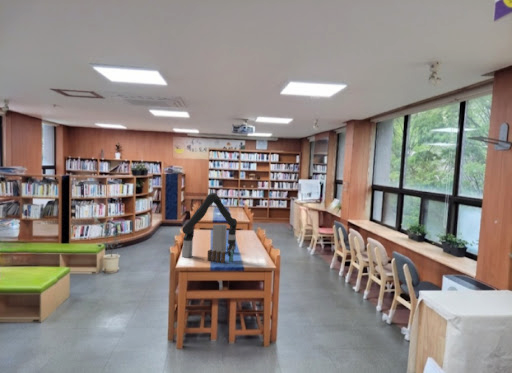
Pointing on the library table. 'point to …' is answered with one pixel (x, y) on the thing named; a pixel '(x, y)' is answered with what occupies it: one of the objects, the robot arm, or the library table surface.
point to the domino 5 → (231, 257)
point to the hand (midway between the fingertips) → (231, 255)
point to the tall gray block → (219, 238)
